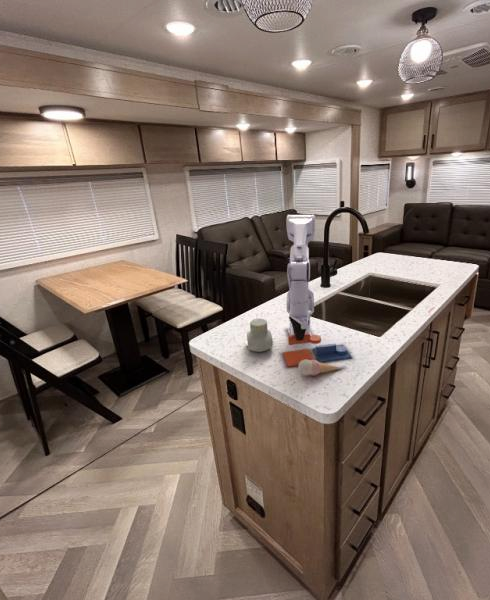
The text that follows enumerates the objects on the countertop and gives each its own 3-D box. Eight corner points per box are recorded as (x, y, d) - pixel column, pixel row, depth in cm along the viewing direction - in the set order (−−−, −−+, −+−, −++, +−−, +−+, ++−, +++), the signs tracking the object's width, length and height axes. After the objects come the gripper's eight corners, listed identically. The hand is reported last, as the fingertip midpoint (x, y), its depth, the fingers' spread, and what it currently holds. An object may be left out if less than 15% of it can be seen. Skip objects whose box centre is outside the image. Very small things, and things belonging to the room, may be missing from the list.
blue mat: (312, 349, 110) (312, 348, 110) (342, 345, 113) (342, 344, 112) (319, 362, 103) (319, 361, 103) (351, 358, 105) (351, 356, 105)
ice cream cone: (338, 365, 103) (294, 364, 98) (344, 357, 100) (299, 356, 95) (341, 378, 100) (297, 378, 95) (348, 371, 97) (302, 370, 92)
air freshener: (273, 354, 108) (272, 328, 104) (249, 357, 107) (247, 330, 103) (269, 338, 118) (268, 314, 114) (247, 340, 117) (245, 316, 113)
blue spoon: (317, 357, 105) (317, 349, 104) (313, 351, 109) (314, 343, 107) (348, 353, 107) (348, 346, 106) (344, 347, 110) (344, 340, 109)
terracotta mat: (282, 353, 108) (282, 352, 108) (308, 350, 110) (308, 349, 110) (287, 367, 101) (287, 365, 101) (315, 363, 103) (315, 362, 103)
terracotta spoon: (290, 347, 101) (289, 339, 100) (287, 341, 105) (287, 333, 104) (322, 343, 103) (322, 335, 102) (318, 337, 107) (319, 329, 106)
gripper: (318, 307, 92) (317, 348, 97) (305, 290, 105) (305, 326, 110) (294, 310, 90) (295, 351, 96) (284, 292, 104) (285, 329, 109)
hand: (299, 338), depth 103 cm, fingers closed on terracotta spoon
